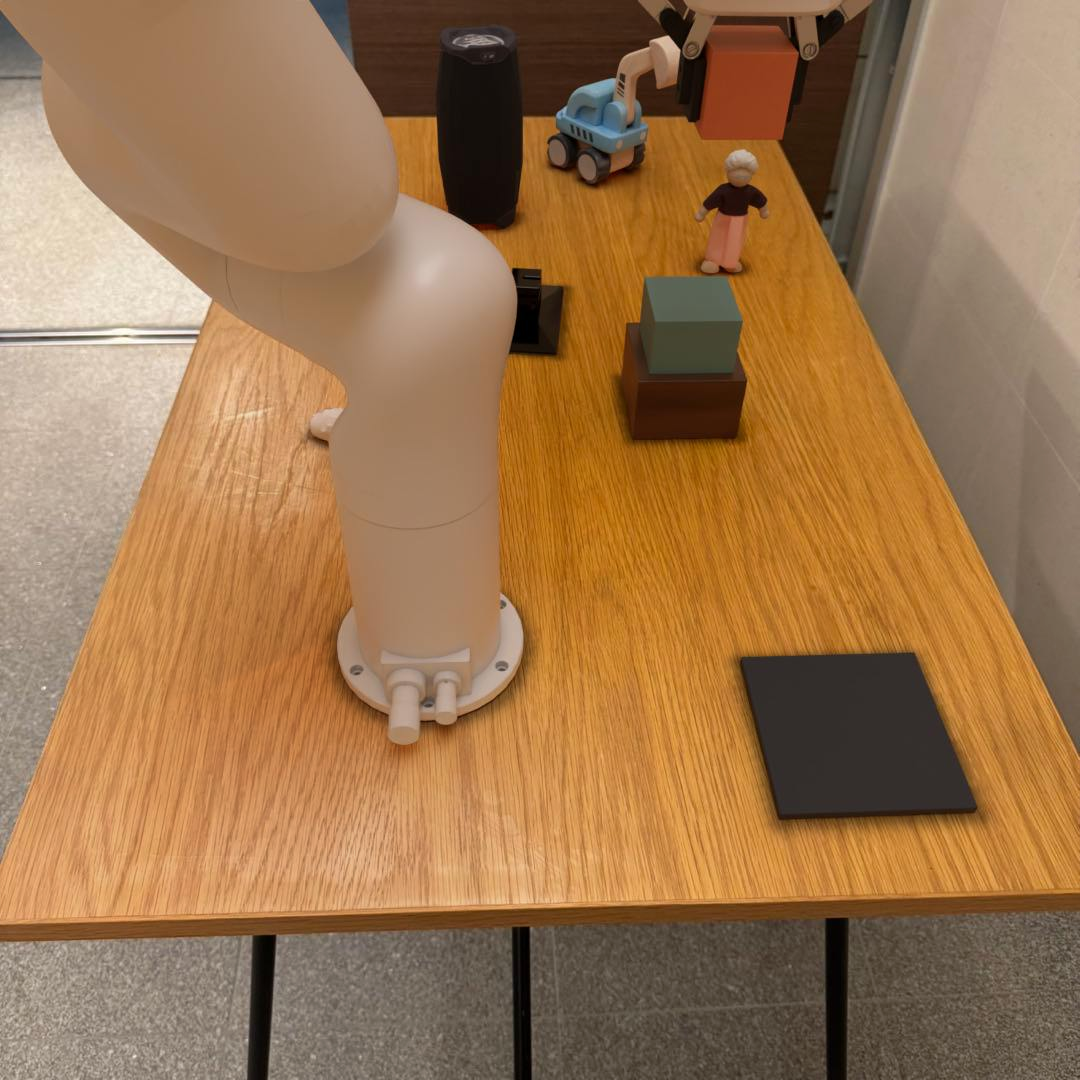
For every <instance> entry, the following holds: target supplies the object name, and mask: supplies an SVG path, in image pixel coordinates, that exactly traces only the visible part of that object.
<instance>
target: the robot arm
mask: <svg viewBox="0 0 1080 1080" xmlns="http://www.w3.org/2000/svg"><path fill="white" fill-rule="evenodd" d="M682 1H683V2H684V4H685V6H686V7H687V8H686V10H685V12H684V15H683V17H682V14H680V13H679V11H678V10H677V9H676V7H675V6H674V5H673V4H672V3H671V2H670V1H669V0H637V2H638V3H639V4H640V5H641V6H642V7H643V9H645V10H646V12H648V14H649V15H650V16H651V17H652V18H653V20H655V21H656V22H657V23H658V25H660V27H661V28H662V30H663V31H664V32H665V33H666V35H667V36H669V37H670V38H671V39H672V41H673V42H674V43H675V44H676V46H677V47H678V48H679V49H680V57H679V66H678V74H677V83H676V84H675V91H674V92H675V93H674V94H675V95H674V97H675V98H674V99H675V103H676V105H678V106H679V105H680V106H681V108H682V112H683V113H684V116H685V117H686V120H687V122H688V123H693V122H697V120H699V119H700V112H701V104H702V97H703V89H704V82H705V75H706V67H707V61H706V59H705V57H704V56H703V53H704V44H705V42H706V39H707V37H708V35H709V33H710V31H711V28H712V26H713V25H715V21H716V20H717V18H718V17H719V16H722V17H723V16H724V17H786V21H787V30H788V35H789V38H788V39H789V41H790V42H791V43H792V45H793V46H794V47H795V49H796V50H797V51H798V53H799V55H798V60H797V66H796V71H795V76H794V81H793V86H792V91H791V97H790V102H789V107H788V112H787V117H786V122H785V124H789V123H791V121H792V117H793V111H794V106H799V105H800V104H801V102H802V99H803V93H804V89H805V84H806V79H807V74H808V68H809V63H810V61H811V60H813V59H815V57H817V55H818V53H819V50H820V49H821V48H822V47H823V46H824V45H826V43H828V41H830V40H831V39H832V38H833V37H834V36H835V35H836V34H837V33H839V32H840V31H841V30H842V29H843V28H844V25H845V24H846V23H848V21H852V20H853V19H854V18H855V17H856V16H858V14H860V13H861V12H862V11H864V10H865V9H866V8H867V7H869V6H870V5H871V4H872V3H873V2H874V0H682ZM0 12H1V13H2V14H3V15H4V17H5V18H6V19H7V20H8V21H9V23H10V24H11V25H12V26H13V27H14V28H15V29H16V31H17V32H18V33H19V34H20V35H21V37H23V39H24V40H25V41H26V42H27V43H28V44H29V45H30V46H31V48H32V49H33V50H34V51H35V52H36V53H37V54H38V55H39V56H40V57H41V58H42V65H41V75H40V76H41V77H40V78H41V79H40V81H41V83H40V87H41V97H42V104H43V110H44V113H45V116H46V121H47V124H48V126H49V127H48V128H49V129H50V132H51V135H52V137H53V139H54V142H55V143H56V146H57V148H58V149H59V151H60V153H61V155H62V157H63V159H64V160H65V161H66V163H67V164H68V165H69V167H70V168H71V170H72V171H73V173H74V174H75V175H76V176H77V178H78V179H79V180H80V181H81V183H83V185H84V186H85V187H86V188H87V189H88V190H89V191H90V192H91V193H92V194H93V195H94V196H95V197H96V198H97V199H98V200H100V202H101V203H103V204H104V205H105V206H106V207H107V208H108V209H109V210H111V212H113V214H114V215H116V216H117V217H118V218H119V220H121V221H123V223H125V224H126V225H127V227H129V228H130V229H131V230H132V231H134V232H135V233H136V234H137V235H138V236H139V237H140V238H142V240H144V241H145V242H146V243H147V244H148V245H149V246H150V247H152V249H154V250H155V251H156V252H157V253H159V254H160V255H161V256H162V257H163V258H164V259H166V261H167V262H169V263H170V265H172V266H173V267H174V268H175V269H177V270H178V271H179V272H180V273H181V274H182V275H183V276H185V277H186V279H188V280H189V281H190V282H191V283H193V284H194V286H196V287H197V288H198V289H199V290H200V291H202V292H203V293H204V294H205V295H206V296H208V297H209V298H210V299H211V300H212V301H214V302H215V303H216V304H217V305H219V306H220V307H221V308H222V309H224V310H225V311H226V312H228V313H229V314H231V315H232V316H234V317H235V318H237V319H238V320H240V321H242V322H243V323H244V324H247V325H248V326H250V327H252V328H253V329H254V330H257V331H259V332H260V333H262V334H264V335H266V336H267V337H269V338H271V339H273V340H275V341H277V342H278V343H280V344H282V345H283V346H286V347H288V348H289V349H291V350H293V351H294V352H296V353H299V354H300V355H302V356H303V357H304V358H306V359H308V360H309V361H311V362H312V363H314V364H316V365H318V366H319V367H321V368H323V369H324V370H326V371H327V372H329V373H330V374H331V375H333V376H334V377H335V378H336V379H337V380H338V381H339V383H340V384H341V385H342V386H343V389H344V392H345V394H346V403H345V407H344V408H343V409H344V410H343V411H342V412H341V413H340V415H339V416H338V418H337V419H336V421H335V423H334V425H333V428H332V431H331V434H330V440H329V443H328V461H329V469H330V476H331V481H332V487H333V492H334V497H335V502H336V503H335V504H336V509H337V514H338V515H337V516H338V521H339V527H340V532H341V539H342V545H343V552H344V557H345V563H346V569H347V575H348V580H349V581H348V583H349V587H350V594H351V601H352V606H351V607H350V609H349V610H348V612H347V614H346V615H345V617H344V618H343V620H342V623H341V625H340V627H339V631H338V634H337V639H336V651H337V660H338V664H339V667H340V672H341V675H342V677H343V679H344V680H345V683H346V684H347V685H348V687H349V688H350V689H351V691H352V692H353V693H354V694H355V695H356V696H357V697H358V699H360V700H361V701H363V702H364V703H366V705H369V706H370V707H371V708H373V709H375V710H377V711H379V712H382V713H384V714H386V715H388V723H387V738H388V740H389V741H390V742H392V743H393V744H396V745H399V746H401V745H403V746H407V745H411V744H414V743H416V742H417V741H419V738H420V736H421V721H435V722H436V723H437V724H439V725H443V726H448V725H453V724H455V722H457V719H458V717H459V716H463V715H466V714H468V713H470V712H473V711H475V710H477V709H479V708H481V707H482V706H485V705H486V704H488V703H489V702H491V701H492V700H494V699H496V697H497V696H498V695H500V694H501V693H502V692H503V691H504V690H505V689H506V688H507V687H508V685H510V682H512V680H513V679H514V678H515V677H516V674H517V672H518V669H519V667H520V665H521V661H522V657H523V652H524V631H523V630H524V629H523V624H522V621H521V618H520V616H519V613H518V611H517V609H516V608H515V606H514V605H513V604H512V602H511V601H510V599H509V598H508V597H507V596H506V595H505V594H503V593H502V591H501V551H500V550H501V549H500V547H501V546H500V540H501V539H500V537H501V536H500V471H499V424H500V423H499V422H500V421H499V420H500V409H501V407H500V406H501V396H502V391H503V390H502V389H503V383H504V378H505V372H506V368H507V363H508V358H509V355H510V353H509V350H510V346H511V341H512V337H513V333H514V327H515V321H516V313H517V291H516V285H515V281H514V277H513V275H512V269H511V268H510V266H509V264H508V262H507V259H505V257H504V255H503V254H502V253H501V252H500V250H499V249H498V248H497V246H496V245H494V243H493V242H492V241H491V240H490V239H489V238H488V237H487V236H485V234H483V233H482V232H480V231H479V230H478V229H477V228H475V227H473V226H472V225H471V226H470V225H469V224H467V223H466V222H464V221H463V220H461V219H459V218H457V217H456V216H454V215H452V214H450V213H449V212H448V211H446V210H443V209H442V208H439V207H437V206H434V205H432V204H430V203H427V202H425V201H422V200H420V199H418V198H415V197H413V196H410V195H408V194H405V193H403V192H400V171H399V163H398V157H397V152H396V149H395V148H396V147H395V145H394V141H393V137H392V135H391V132H390V131H389V128H388V126H387V123H386V121H385V118H384V117H383V113H382V111H381V109H380V107H379V105H378V104H377V102H376V100H375V99H374V97H373V95H372V94H371V93H370V91H369V89H368V87H367V86H366V84H365V83H364V81H363V80H362V78H361V76H360V75H359V74H358V72H357V70H356V69H355V67H354V66H353V64H352V63H351V62H350V60H349V59H348V56H346V54H345V52H343V50H342V49H341V47H340V45H339V44H338V42H337V40H336V39H335V38H334V35H332V33H331V31H330V30H329V28H328V27H327V26H326V23H325V22H324V21H323V19H322V17H321V16H320V14H319V13H318V12H317V10H316V8H315V6H314V5H313V4H312V2H311V0H0Z"/></svg>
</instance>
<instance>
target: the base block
mask: <svg viewBox="0 0 1080 1080" xmlns="http://www.w3.org/2000/svg"><path fill="white" fill-rule="evenodd" d="M639 325H640V321H638V322H626V324H625V335H624V345H623V354H622V355H623V356H622V366H621V367H622V368H621V377H620V379H621V384H622V390H623V396H624V401H625V406H626V411H627V417H628V422H629V428H630V433H631V438H632V440H681V439H682V440H686V439H687V440H688V439H690V440H691V439H693V440H694V439H736V438H737V436H738V432H739V426H740V421H741V416H742V412H743V405H744V401H745V395H746V391H747V384H748V378H747V374H746V371H745V368H744V365H743V363H742V360H741V357H740V354H739V351H738V350H737V356H736V361H735V367H734V372H733V373H702V374H649V370H648V365H647V361H646V356H645V352H644V347H643V343H642V338H641V334H640V330H639Z"/></svg>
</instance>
